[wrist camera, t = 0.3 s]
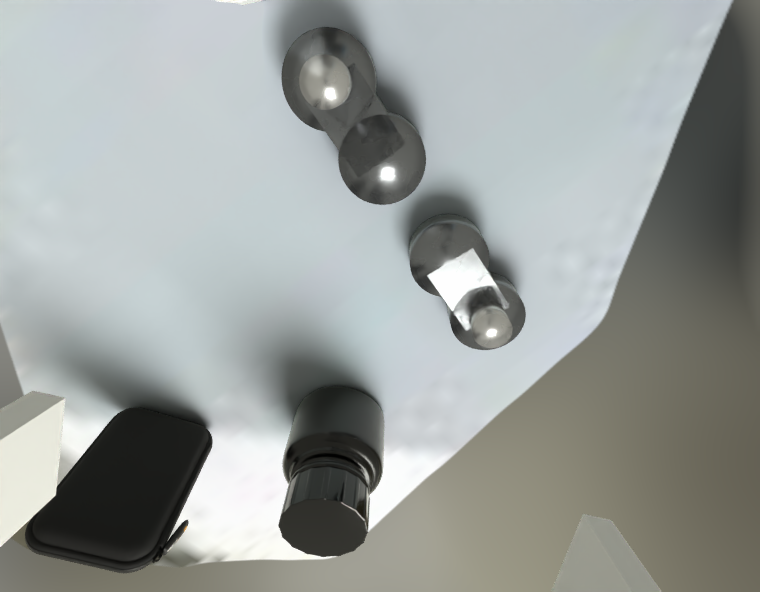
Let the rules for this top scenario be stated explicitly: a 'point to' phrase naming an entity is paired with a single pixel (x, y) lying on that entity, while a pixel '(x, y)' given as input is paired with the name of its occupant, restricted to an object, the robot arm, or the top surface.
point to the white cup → (240, 1)
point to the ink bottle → (331, 471)
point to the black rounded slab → (123, 494)
